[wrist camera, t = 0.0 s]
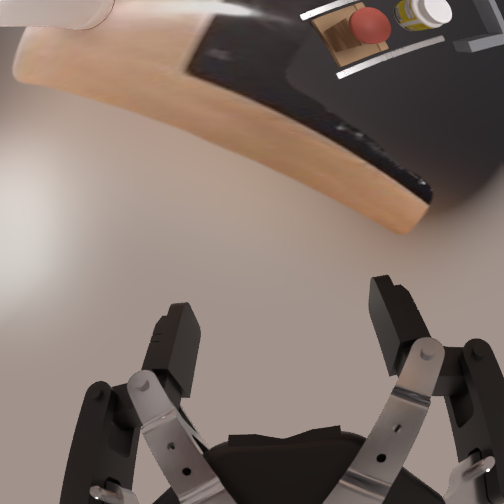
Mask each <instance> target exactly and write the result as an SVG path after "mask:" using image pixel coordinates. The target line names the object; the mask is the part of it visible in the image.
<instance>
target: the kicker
mask: <svg viewBox="0 0 504 504" xmlns="http://www.w3.org/2000/svg"><path fill="white" fill-rule="evenodd" d="M311 23H312V25H313V26H314V28H315V30H316V31H317V33H318V34H319V35H320V37H321V39H322V41H323V42H324V44H325V45H326V47H327V49H328V50H329V52H330V54H331V55H332V57H333V59H334V60H335V62H336V64H337V66H338V67H343V66H345V65H347V64H350V63H352V62H354V61H357V60H359V59H362V58H365V57H367V56H370V55H372V54H375V53H378V52H380V51H383V50H386V49H388V46H387V44H386V42H385V40H386V39H388V37H389V36H390V33H391V26H390V23H389V20H388V19H387V17H386V16H385V15H384V14H383V13H382V12H380V11H379V10H377V9H374V8H371V7H365V6H364V4H363V3H362V2H361V3H358V4H354V5H352V6H349V7H346V8H343V9H340V10H337V11H335V12H332V13H329V14H326V15H324V16H321V17H319V18H316V19H314V20H312V21H311Z"/></svg>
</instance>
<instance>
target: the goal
mask: <svg viewBox="0 0 504 504" xmlns="http://www.w3.org/2000/svg"><path fill="white" fill-rule="evenodd" d="M473 2H474V4H475V6H476V8H477V10H478V12H479V14H480V17H481V19H482V21H483V23H484V25H485V28H486V30H487V34H482V35H478V36H474V37H470V38H466V39H462V40H458V41H454V42H453V44H454V47H455V49H456V51H457V52H475V51H479V50H482V49H486V48H490V47H494V46H498V45H502V44H504V20H503V18H502V16H501V13H500V11H499V9H498V7H497V5H496V3H495V0H473Z"/></svg>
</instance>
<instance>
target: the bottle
mask: <svg viewBox="0 0 504 504" xmlns="http://www.w3.org/2000/svg"><path fill="white" fill-rule="evenodd" d="M113 4H114V0H0V27H8V26H37V27H57V28H68V29H72V30H85V29H91V28H93V27H95V26H97V25H98V24H100V23H101V22H102V21H103V20H104V19H105V18H106V17H107V15H108V14H109V13H110V11H111V9H112V6H113Z"/></svg>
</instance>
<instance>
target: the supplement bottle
mask: <svg viewBox="0 0 504 504" xmlns="http://www.w3.org/2000/svg"><path fill="white" fill-rule="evenodd" d="M393 15H394V18H395V20H396V21H397V23H398V24H399V25H400V26H401V27H403V28H404V29H406V30H409V31H418V30H425V29H431V28H437V27H439V26H441V25H442V24H443V23H447V22H449V21H450V20H451V17H452V12H451V8H450V6H449V4H448V3H447V2H446V0H403V1H401V2H398V3H397V4H396V5H395V6H394V9H393Z"/></svg>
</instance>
